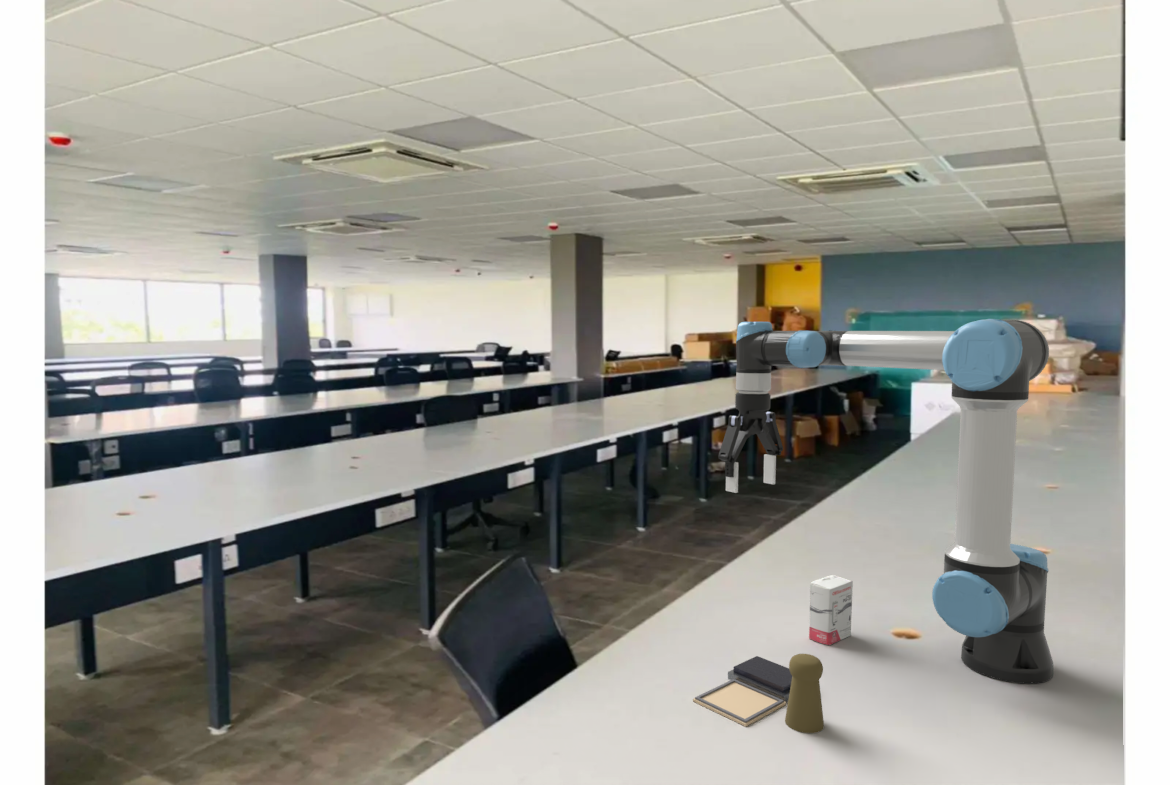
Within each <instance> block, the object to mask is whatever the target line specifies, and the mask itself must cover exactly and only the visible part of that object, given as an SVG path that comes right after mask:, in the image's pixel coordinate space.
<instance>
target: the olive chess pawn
mask: <svg viewBox="0 0 1170 785" xmlns="http://www.w3.org/2000/svg"><path fill="white" fill-rule="evenodd" d="M788 663H789V664H788V668H789V669H790V673H791V675H792V681H791V687H790V693H789V699H788V701H787V705H786V706H787V707H786V712H785V718H784V722H785V725H786V726H787V727H788V728H790V729H791V730H793V731H796V732H798V733H799V732H800V733H803V734H815V733H818V732H821V731H823V730H824V728H825V723H824V722H825V721H824V715H823V714H824V712H823V704H822V703H823V702H822V695H821V686H820V679H821V678H822V676H823V673H824V667H823V663H822V661H821V659H820V658H818V657H817V656H816V655H812V654H810V653H809V654H808V653H797V654H795V655H793V656H792V657H791V658H790V660H789V662H788Z"/></svg>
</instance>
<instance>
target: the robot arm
mask: <svg viewBox="0 0 1170 785" xmlns="http://www.w3.org/2000/svg"><path fill="white" fill-rule="evenodd" d="M735 344H736V346H735V348H736V369H735V371H736V372H735V373H736V376H735V378H736V379H735V390H736V391H738V392H736V394H735V401H734V402H735V403H734V405H735V406H734V407H735V409H736V410H738V415H731V414H730V415H729V416H728V424H727V427H726V430H725V434H724V438H723V441H722V443H721V446H720V449H719V452H718V455H717V457H718V460H721V462H724V475H725V491H726V492H730V493H734V494H737V493H739V462H738V461H737V459H738V457H739V455H740V454H741V452H742V449H743V447H744V446H745V443H746V442H747V440H748V438H751V436H754V435H756V436H757V437H758V439H759V442H760V443H761V445H762V447H763V449H764V451H765V454H763V483H764V484H768V485H776V475H777V474H776V470H777V456H781V455H782V452H783V450H784V447H783V443H782V442H783V441H782V439H781V435H780V432H779V429H778V425H777V421H776V420H777V419H776V413H775V412H773V411H769V410H770V409H771V394H770V393H769V392H770V391H771V390H772V367H773V366H774V367H775V366H777V367H790V368H791V367H792V368H799V369H803V368H806V369H807V368H816V367H818V366H836V367H837V366H838V367H839V366H840V367H843V366H844V367H867V368H868V367H869V368H889V369H890V368H892V369H913V370H914V369H915V370H916V369H917V370H937V371H944V373H945V374H946V375H947V377H948V378H949V380H950V381H951V399H952V400H953V401H954V402H955V403H956V404H957V405H958V406H959V408H960V416H959V419H960V422H959V438H958V439H959V441H958V460H957V464H958V465H957V483H956V484H957V485H956V502H955V503H956V505H955V506H956V507H955V508H956V509H955V524H954V527H955V528H954V541H953V543H951V544H950V545H949V546H948V547H946V548H945V549H944V559H943V560H944V561H943V564H944V565H943V574H941V575H940V576H938V578H937V579H936V580H935V583H934V585H933V588H932V591H931V592H932V597H931V598H932V602H933V603H932V604H933V606H934V608H935V609H934V610H935V611H936V613H937V614H938V617H940V618H941V619H942V621H943V622H944V623H945V625H947V626H948V627H949V628H951V629H952V630H954V631H955V632H957V633H958V634H960V635H963V636H965V637H964V640H963V642H962V644H961V655H960V658H961V661H962V663H964V665H965V666H967V667H968V668H969V669H971V670H973V671H974V672H976V673H979V674H981V675H983V676H986V677H988V678H992V679H996V680H999V681H1005V682H1009V683H1010V682H1011V683H1014V684H1015V683H1017V684H1040V683H1045V682H1048V681H1049V680H1051V679H1052V678H1053V676H1054V661H1053V656H1052V655H1051V651H1050V648H1049V644H1048V641H1047V638H1046V634H1045V622H1046V621H1045V619H1046V605H1047V604H1046V603H1047V602H1046V600H1047V583H1048V574H1049V568H1048V557H1047V555H1046V554H1045V553H1044V552H1043V551H1041V550H1039V549H1037V548H1036V549H1035V548H1034V547H1033V548H1032V547H1028V546H1026V545H1025V546H1024V545H1020V544H1016V543H1011V542H1012V541H1011V540H1012V539H1011V538H1012V522H1013V521H1012V520H1013V518H1012V517H1013V504H1014V502H1013V501H1014V500H1013V499H1014V498H1013V497H1014V482H1015V480H1014V479H1015V461H1016V442H1017V425H1018V424H1017V422H1018V420H1017V419H1018V411H1019V410H1020V408H1021V407H1022V406H1024V405H1025V404H1026V403H1028V402H1029V397H1030V396H1029V395H1030V394H1029V391H1030V390H1029V389H1030V381H1033V380H1034V379H1035V378H1037V377H1038V376H1039V375H1040V374H1041V373H1042V372H1043V371H1044V369H1045V368H1046V365H1047V364H1048V360H1049V356H1050V348H1049V342H1048V340H1047V338H1046V337H1045V335H1044V334H1043V333H1042V331H1041V330H1040V329H1039V328H1038V327H1036V326H1035V325H1033V324H1031V323H1030V322H1026V321H1023V320H1018V319H998V318H997V319H996V318H987V319H985V318H984V319H979V320H976V321H975V320H973V321H971V322H970V321H969V322H968V323H965V324H963V325H962V326H960V327H958V328H957V329H956V330H950V331H949V330H948V331H947V330H836V329H835V330H833V329H832V330H831V329H830V330H806V329H805V330H804V329H803V330H802V329H801V330H773V324H772V322H770V321H742V322H739V324H738V325H737V332H736V340H735Z"/></svg>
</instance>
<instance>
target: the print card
mask: <svg viewBox="0 0 1170 785" xmlns="http://www.w3.org/2000/svg"><path fill="white" fill-rule="evenodd" d="M692 702H693V703H696V704H698V705H699V706H700V705H701V706H702V707H704V708H706V709H708V710H710V711H712V712H715V713H717V714H719V715H720V716H723V717H725V718H727V719H728V720H731V721H733V722H735V723H738V725H739V724H740V725H742V726H744V727H748V726H749V725H752V724H753V723H755V722H757V721H759V720H760V719H762V718H764V717H767V715H770V714H771V713H773V712H775V711H776V710H779V709H780V708H782V707H784V706H787V705H786V704H787V702H784V700H782V699H780V698H777V697H775V696H773V695H770V694H768V693H766V692H763V691H761V690H759V689H756V688H754V687H752V686H749V685H747V684H745V683H742V682H740V681H738V680H735V679H732V680H731V679H729V681H727V682H724V683H722V684H720V685H718V686H715V687H713V688H711V689H710V690H707V691H705V692H704V693H701V694H699V695H697V696H695V697H694V698H693V699H692Z"/></svg>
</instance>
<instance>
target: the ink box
mask: <svg viewBox="0 0 1170 785" xmlns="http://www.w3.org/2000/svg"><path fill="white" fill-rule="evenodd" d="M853 583H854V581H853V580H850V579H846V578H844V577H842V576H841V577H840V576H838V575H835V574H830V575H827V576H824V577H821V578H818V579H815V580H813V581H811V582H810V585H809V586H810V587H809V620H808V621H809V622H808V623H809V628H808V630H809V631H808V639H809V640H812V641H814V642H816V643H821V644H822V645H827V646H832V645H833V644H835V643H837V642H840V641H842V640H844V639H846V638H848V637H851V636H852V614H853V612H852V610H853V607H852V606H853V586H854V584H853Z"/></svg>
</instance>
